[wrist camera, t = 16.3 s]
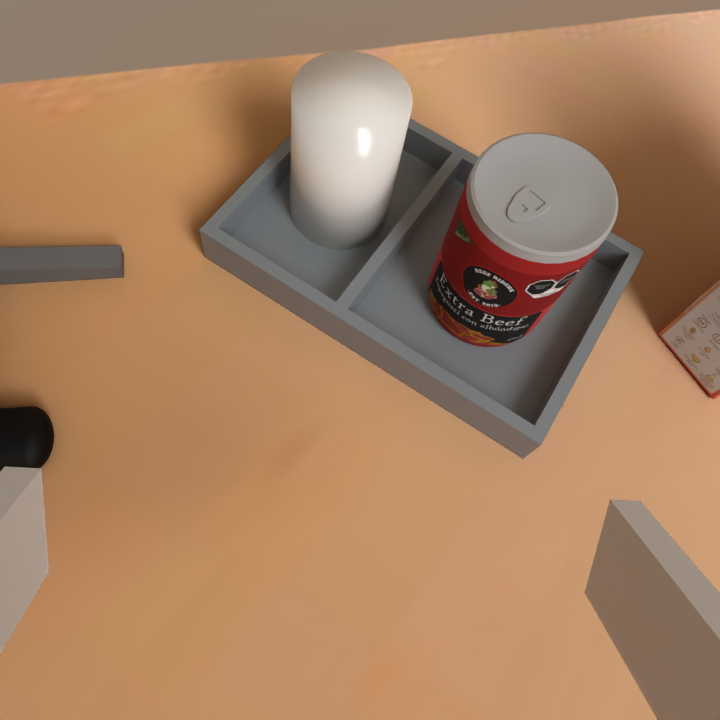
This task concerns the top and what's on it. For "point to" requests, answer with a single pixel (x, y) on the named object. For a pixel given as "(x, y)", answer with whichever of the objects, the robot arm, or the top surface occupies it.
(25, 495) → the robot arm
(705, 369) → the cracker box
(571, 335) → the caddy
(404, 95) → the ceramic jar
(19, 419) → the toy submachine gun
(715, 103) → the top surface
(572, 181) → the canned food
